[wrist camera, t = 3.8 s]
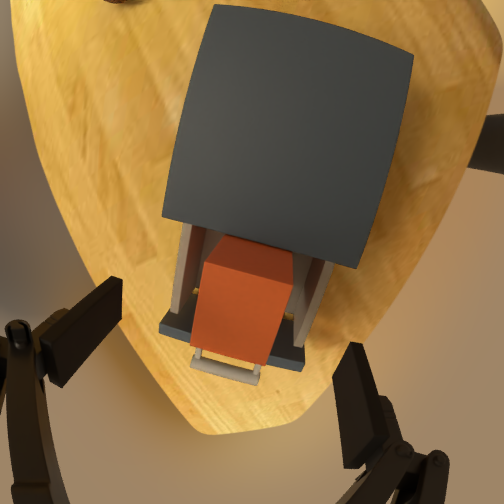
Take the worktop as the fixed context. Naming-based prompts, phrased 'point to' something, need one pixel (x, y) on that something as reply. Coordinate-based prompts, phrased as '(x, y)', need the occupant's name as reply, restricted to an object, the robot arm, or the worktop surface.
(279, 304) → the box
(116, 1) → the potato
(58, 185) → the worktop surface
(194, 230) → the drawer
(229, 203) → the cabinet
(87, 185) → the worktop surface
